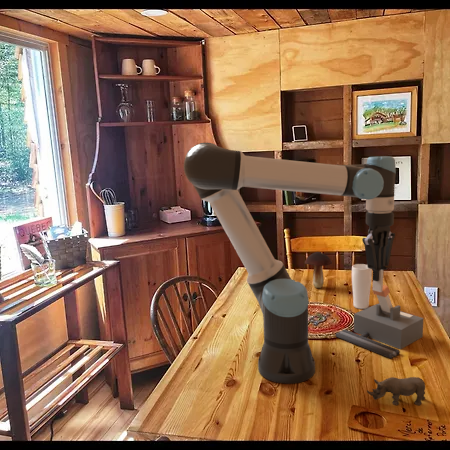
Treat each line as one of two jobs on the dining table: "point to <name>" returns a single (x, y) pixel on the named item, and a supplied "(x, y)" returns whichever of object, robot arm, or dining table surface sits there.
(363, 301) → the tall cup
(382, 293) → the toggle lever
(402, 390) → the rhino figurine
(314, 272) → the decorative mushroom
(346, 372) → the dining table surface
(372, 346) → the cable bundle
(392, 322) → the switch block
